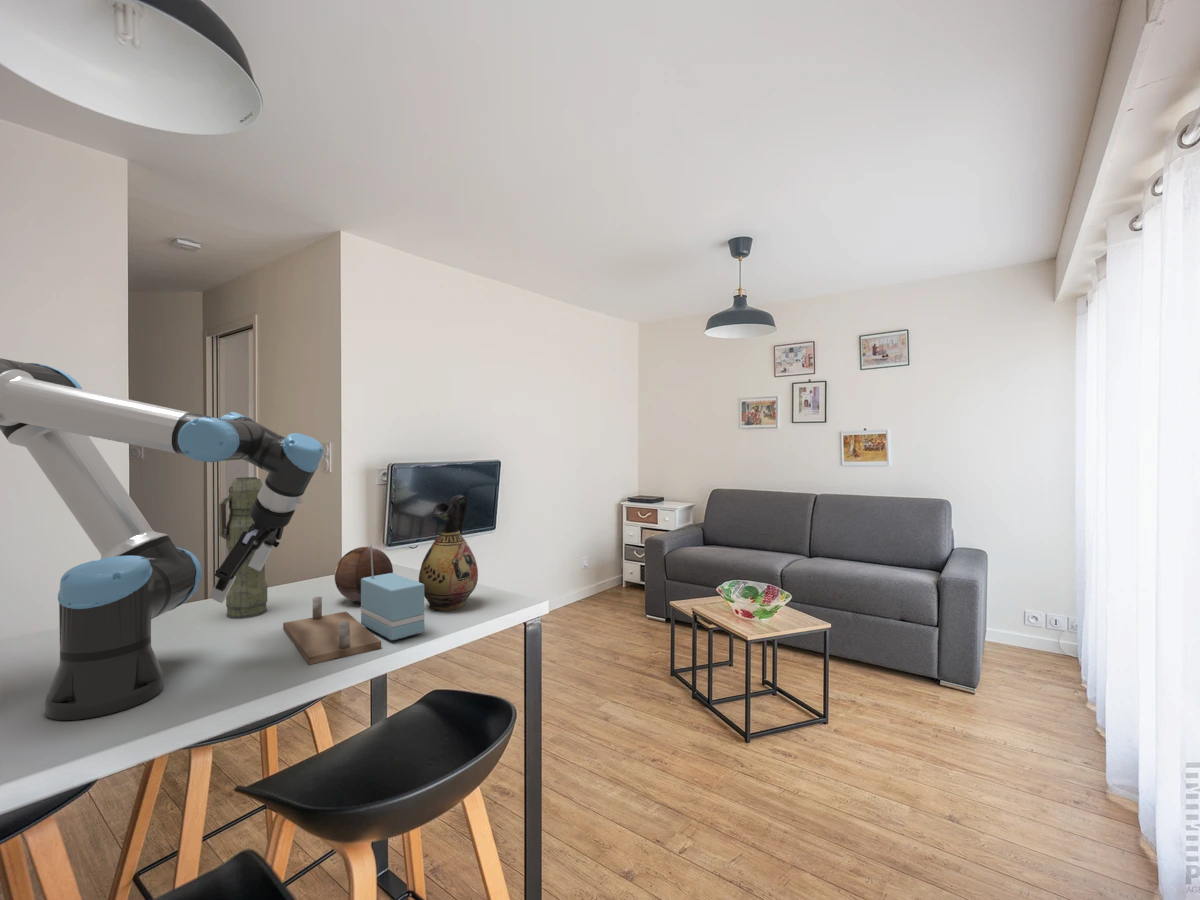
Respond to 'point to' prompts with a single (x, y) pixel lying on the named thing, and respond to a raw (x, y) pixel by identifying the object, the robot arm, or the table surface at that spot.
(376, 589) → the radio
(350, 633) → the pin tray
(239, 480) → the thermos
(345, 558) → the wooden sphere
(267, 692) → the table surface
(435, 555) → the ceramic jug
